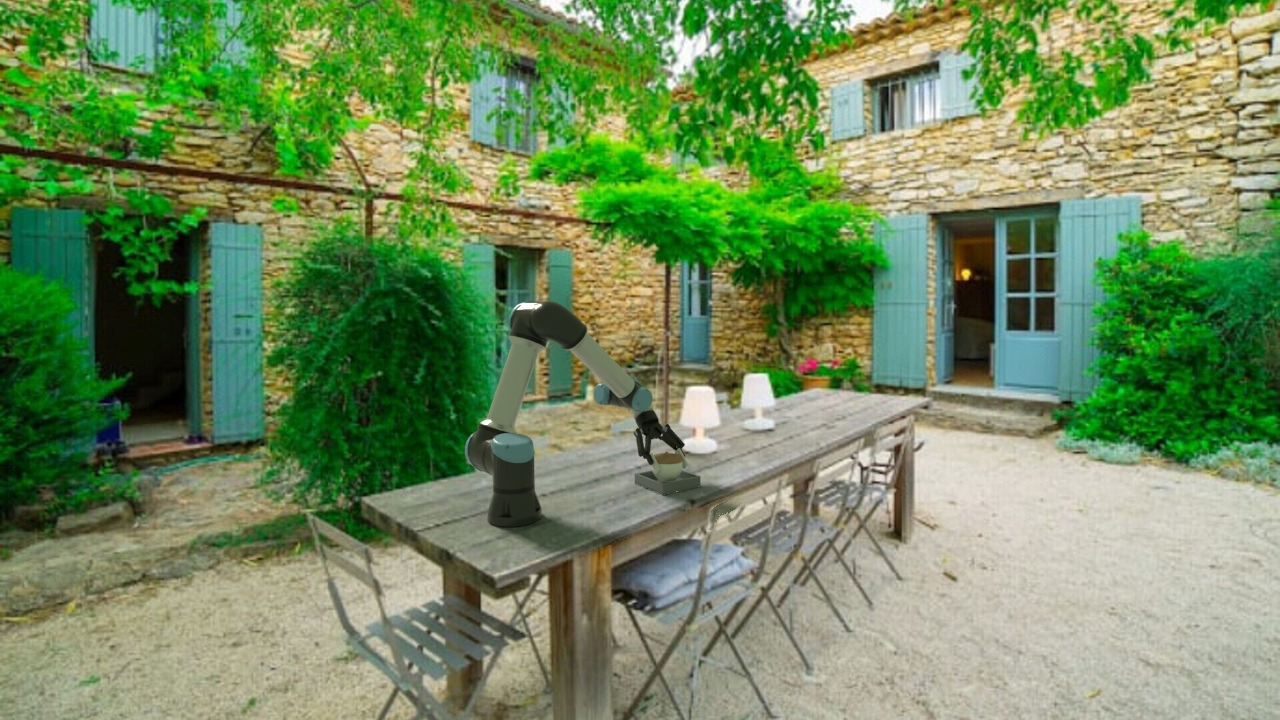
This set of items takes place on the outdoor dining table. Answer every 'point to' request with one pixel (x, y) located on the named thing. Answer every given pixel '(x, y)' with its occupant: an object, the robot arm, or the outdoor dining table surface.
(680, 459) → the lidded jar
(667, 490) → the bin
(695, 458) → the outdoor dining table surface
